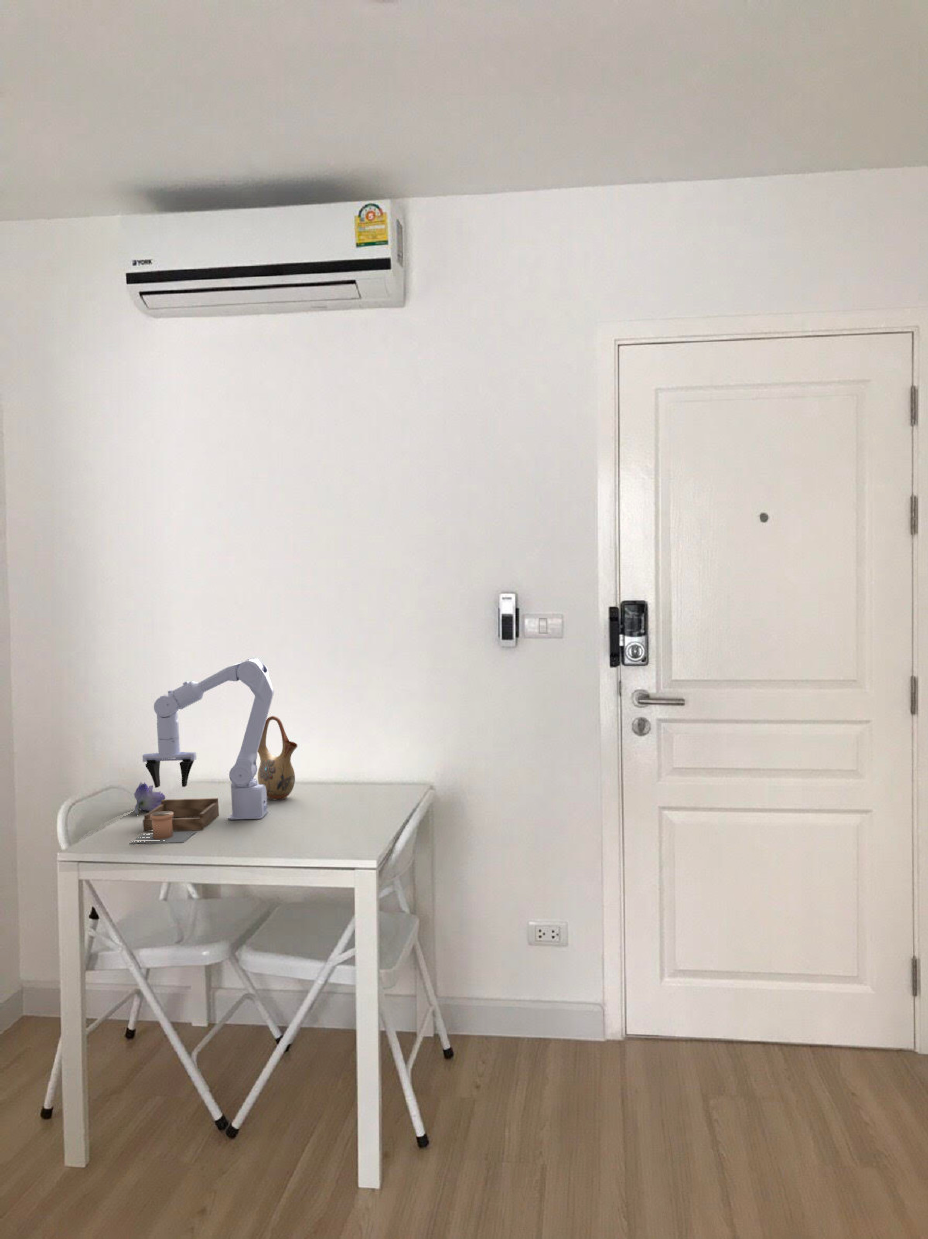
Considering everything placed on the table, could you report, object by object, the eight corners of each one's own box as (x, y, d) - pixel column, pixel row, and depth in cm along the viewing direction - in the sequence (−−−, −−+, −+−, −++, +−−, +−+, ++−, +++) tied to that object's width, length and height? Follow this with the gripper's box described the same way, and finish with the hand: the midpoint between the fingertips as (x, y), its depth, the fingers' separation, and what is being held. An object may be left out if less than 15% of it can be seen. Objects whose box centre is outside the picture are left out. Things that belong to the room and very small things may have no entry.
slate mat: (195, 832, 266) (195, 831, 266) (183, 842, 256) (183, 842, 256) (143, 833, 267) (143, 832, 267) (129, 844, 257) (129, 843, 257)
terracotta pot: (174, 832, 266) (172, 809, 266) (174, 838, 261) (173, 814, 260) (151, 835, 264) (149, 812, 264) (151, 840, 259) (150, 817, 258)
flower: (145, 795, 284) (153, 773, 293) (120, 807, 285) (128, 785, 294) (165, 817, 288) (172, 795, 297) (140, 829, 290) (148, 806, 298)
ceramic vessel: (308, 797, 303) (304, 714, 301) (289, 804, 295) (285, 719, 293) (265, 793, 310) (261, 712, 309) (246, 799, 303) (242, 717, 301)
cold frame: (218, 815, 284) (218, 798, 283) (202, 829, 269) (201, 811, 269) (163, 817, 285) (162, 799, 284) (143, 831, 270) (142, 812, 269)
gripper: (198, 734, 283) (201, 782, 284) (148, 736, 284) (150, 784, 285) (190, 739, 276) (193, 788, 277) (138, 740, 277) (141, 789, 278)
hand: (171, 786), depth 280 cm, fingers open, 7 cm apart
